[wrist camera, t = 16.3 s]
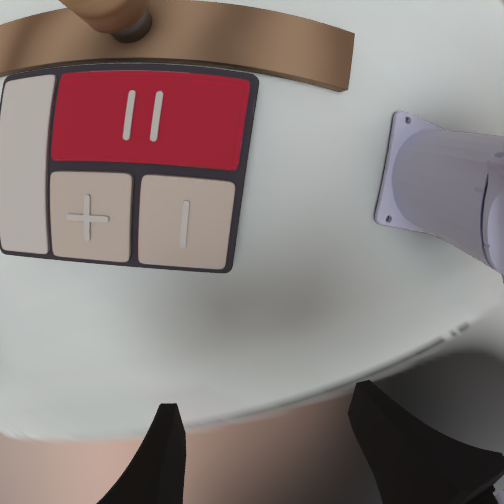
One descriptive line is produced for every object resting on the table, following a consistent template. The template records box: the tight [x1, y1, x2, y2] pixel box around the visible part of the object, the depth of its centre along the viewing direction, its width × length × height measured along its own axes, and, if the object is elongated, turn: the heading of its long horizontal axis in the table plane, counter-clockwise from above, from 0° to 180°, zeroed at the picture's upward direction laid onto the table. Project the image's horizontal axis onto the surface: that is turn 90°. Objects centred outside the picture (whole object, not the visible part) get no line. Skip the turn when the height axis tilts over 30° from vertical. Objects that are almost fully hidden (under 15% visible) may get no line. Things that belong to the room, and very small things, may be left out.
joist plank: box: [0, 0, 355, 92], centre depth 13 cm, size 26×4×1 cm, turn 81°
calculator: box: [0, 64, 259, 273], centre depth 15 cm, size 11×4×15 cm
